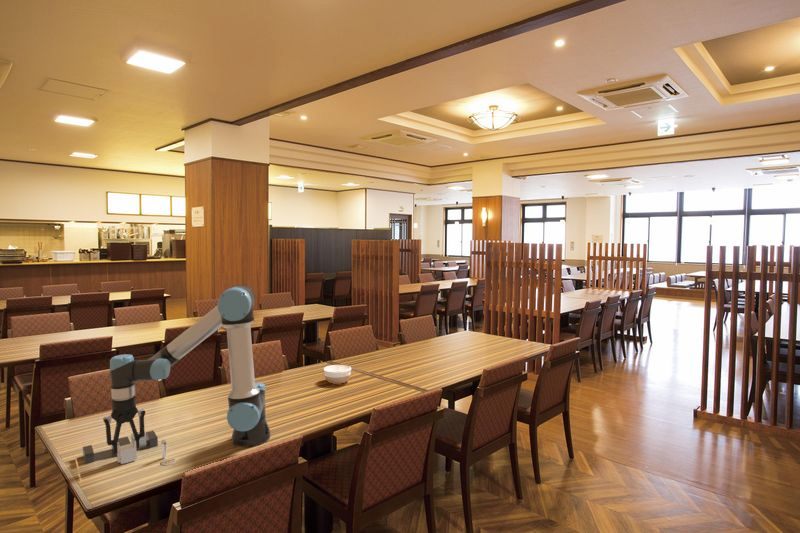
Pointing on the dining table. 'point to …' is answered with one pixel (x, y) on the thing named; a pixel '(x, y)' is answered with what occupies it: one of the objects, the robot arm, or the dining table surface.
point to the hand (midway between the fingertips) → (127, 458)
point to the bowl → (337, 373)
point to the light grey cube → (140, 441)
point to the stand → (165, 454)
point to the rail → (92, 457)
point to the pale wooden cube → (127, 453)
